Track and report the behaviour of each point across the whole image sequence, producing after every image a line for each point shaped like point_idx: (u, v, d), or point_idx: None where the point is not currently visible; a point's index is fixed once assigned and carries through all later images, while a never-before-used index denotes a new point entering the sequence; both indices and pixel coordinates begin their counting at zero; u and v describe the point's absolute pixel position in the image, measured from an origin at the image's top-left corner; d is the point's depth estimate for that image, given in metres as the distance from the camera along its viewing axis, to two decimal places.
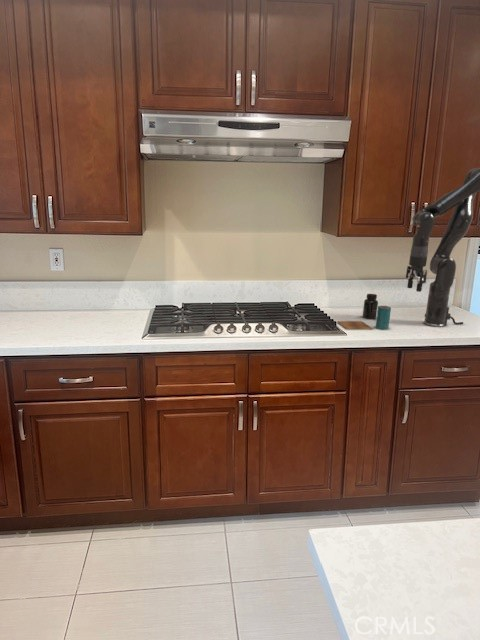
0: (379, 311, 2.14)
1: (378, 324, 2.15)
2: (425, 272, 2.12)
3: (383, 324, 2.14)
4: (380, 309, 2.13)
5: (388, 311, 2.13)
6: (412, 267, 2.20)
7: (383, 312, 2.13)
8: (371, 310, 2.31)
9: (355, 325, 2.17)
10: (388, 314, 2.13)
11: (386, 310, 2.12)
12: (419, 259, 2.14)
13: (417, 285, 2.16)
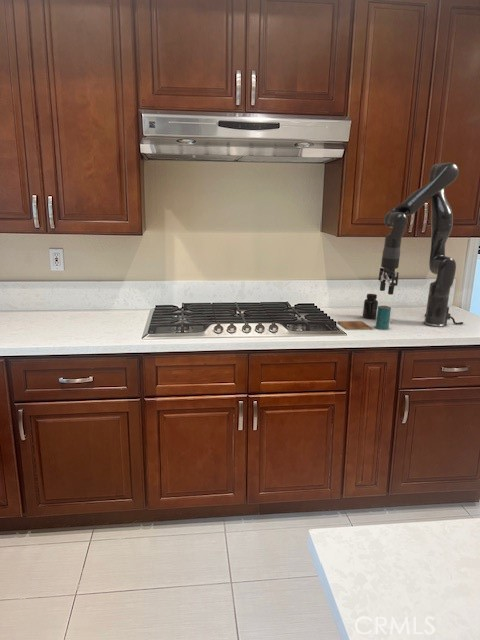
0: (379, 311, 2.14)
1: (378, 324, 2.15)
2: (397, 274, 2.04)
3: (383, 324, 2.14)
4: (380, 309, 2.13)
5: (388, 311, 2.13)
6: (384, 269, 2.12)
7: (383, 312, 2.13)
8: (371, 310, 2.31)
9: (355, 325, 2.17)
10: (388, 314, 2.13)
11: (386, 310, 2.12)
12: (391, 261, 2.06)
13: (389, 288, 2.08)
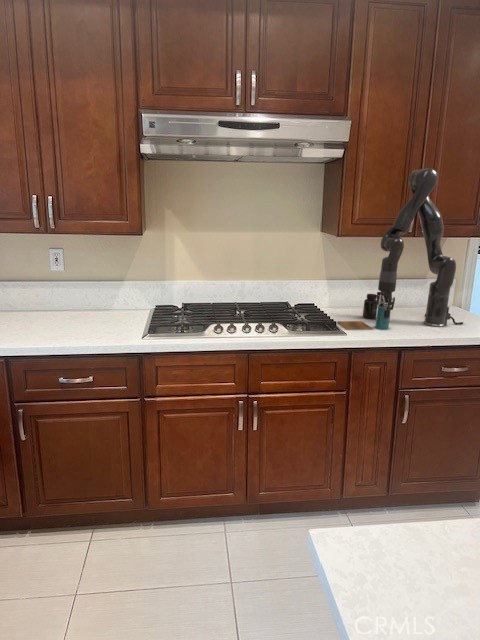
0: (379, 311, 2.14)
1: (378, 324, 2.15)
2: (393, 300, 2.07)
3: (383, 324, 2.14)
4: (380, 309, 2.13)
5: None
6: (381, 291, 2.15)
7: (383, 312, 2.13)
8: (371, 310, 2.31)
9: (355, 325, 2.17)
10: None
11: None
12: (388, 284, 2.08)
13: (385, 312, 2.12)
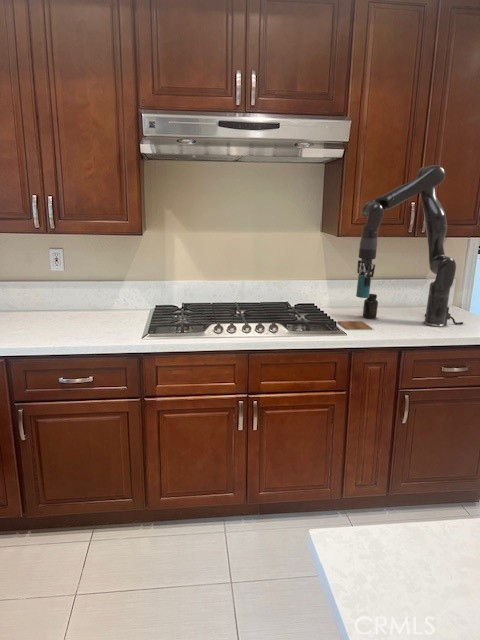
0: (359, 279, 2.12)
1: (358, 292, 2.13)
2: (373, 267, 2.05)
3: (363, 292, 2.12)
4: (360, 277, 2.11)
5: None
6: (362, 259, 2.13)
7: (363, 280, 2.10)
8: (371, 310, 2.31)
9: (355, 325, 2.17)
10: None
11: None
12: (368, 251, 2.06)
13: (365, 279, 2.10)
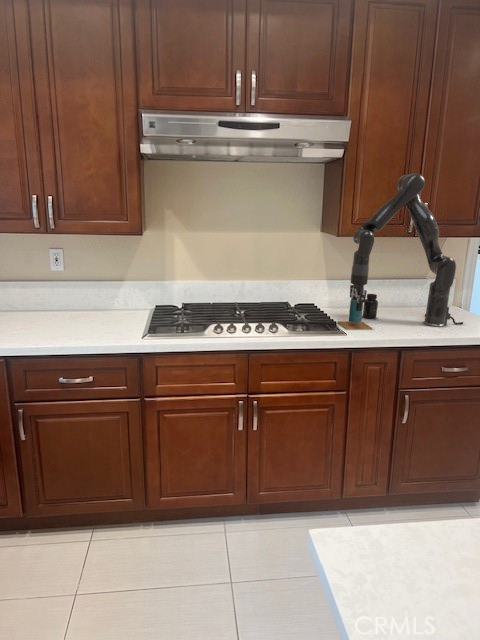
0: (351, 304, 2.15)
1: (351, 317, 2.17)
2: (365, 292, 2.09)
3: (355, 317, 2.15)
4: (352, 302, 2.15)
5: None
6: (354, 284, 2.16)
7: (355, 305, 2.14)
8: (371, 310, 2.31)
9: (355, 325, 2.17)
10: None
11: None
12: (360, 277, 2.10)
13: (357, 304, 2.13)
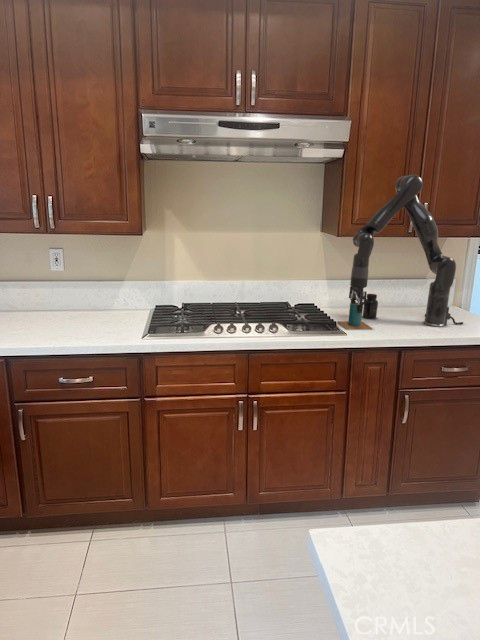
0: (351, 308, 2.16)
1: (350, 321, 2.17)
2: (365, 294, 2.09)
3: (355, 320, 2.16)
4: (352, 306, 2.15)
5: None
6: (354, 288, 2.17)
7: (355, 309, 2.14)
8: (371, 310, 2.31)
9: None
10: None
11: None
12: (359, 280, 2.10)
13: (358, 306, 2.12)
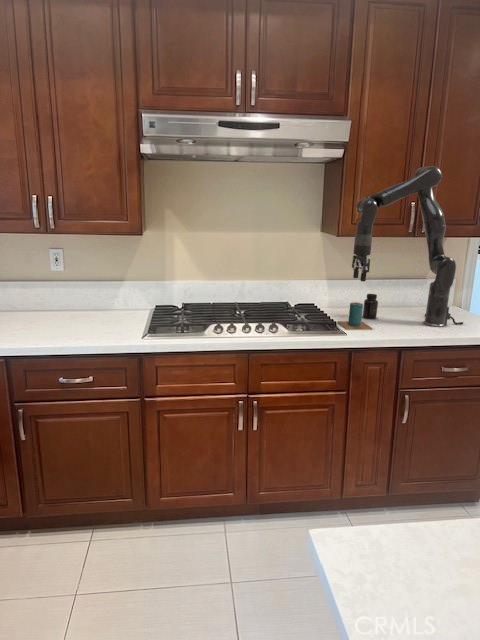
0: (351, 308, 2.16)
1: (350, 321, 2.17)
2: (368, 261, 2.05)
3: (355, 320, 2.16)
4: (352, 306, 2.15)
5: (360, 308, 2.14)
6: (357, 256, 2.13)
7: (355, 309, 2.14)
8: (371, 310, 2.31)
9: None
10: (360, 311, 2.15)
11: (358, 307, 2.14)
12: (363, 247, 2.06)
13: (361, 275, 2.09)
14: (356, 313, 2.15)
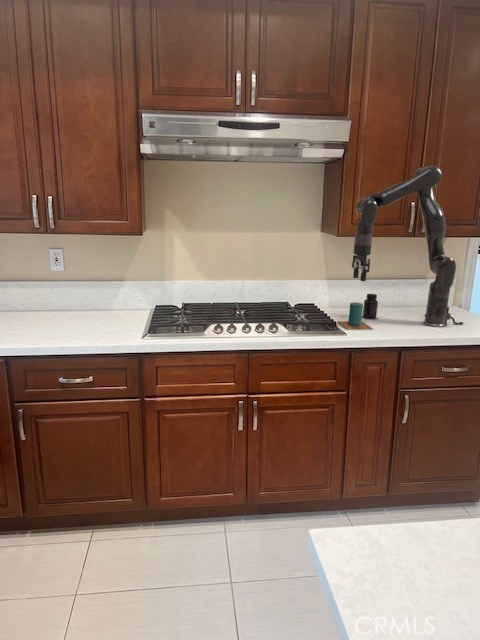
0: (351, 308, 2.16)
1: (350, 321, 2.17)
2: (368, 261, 2.05)
3: (355, 320, 2.16)
4: (352, 306, 2.15)
5: (360, 308, 2.14)
6: (357, 256, 2.13)
7: (355, 309, 2.14)
8: (371, 310, 2.31)
9: None
10: (360, 311, 2.15)
11: (358, 307, 2.14)
12: (363, 247, 2.06)
13: (361, 274, 2.08)
14: (356, 313, 2.15)
